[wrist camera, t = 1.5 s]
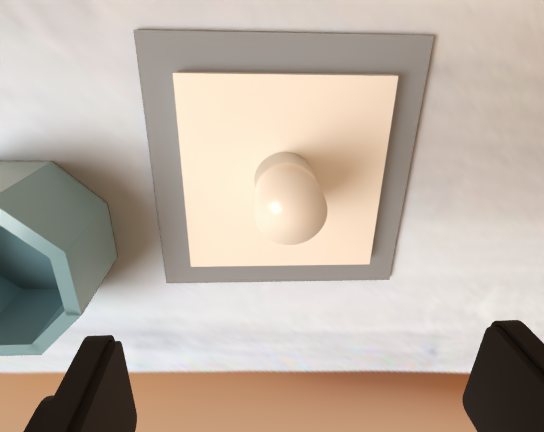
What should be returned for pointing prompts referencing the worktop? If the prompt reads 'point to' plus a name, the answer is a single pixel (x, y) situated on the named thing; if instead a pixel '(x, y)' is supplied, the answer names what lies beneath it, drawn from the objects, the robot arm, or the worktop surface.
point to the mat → (276, 59)
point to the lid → (282, 165)
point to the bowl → (48, 253)
